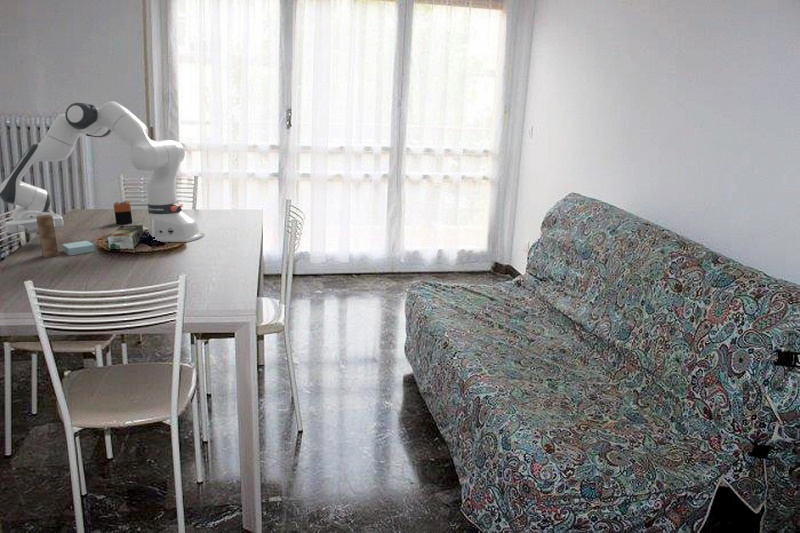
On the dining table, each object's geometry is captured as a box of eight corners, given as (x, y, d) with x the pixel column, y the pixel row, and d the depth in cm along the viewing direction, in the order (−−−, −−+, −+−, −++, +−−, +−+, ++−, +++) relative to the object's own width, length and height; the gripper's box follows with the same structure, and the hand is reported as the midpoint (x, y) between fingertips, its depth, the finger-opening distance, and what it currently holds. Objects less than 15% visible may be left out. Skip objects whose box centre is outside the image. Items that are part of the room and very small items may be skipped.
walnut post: (55, 253, 261) (49, 214, 256) (58, 255, 257) (52, 216, 253) (42, 255, 258) (36, 216, 254) (45, 257, 255) (39, 218, 250)
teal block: (87, 248, 270) (86, 240, 269) (94, 252, 263) (93, 244, 262) (63, 251, 264) (62, 244, 263) (69, 256, 258) (68, 248, 257)
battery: (132, 223, 310) (129, 201, 307) (116, 224, 307) (113, 202, 305) (131, 221, 314) (129, 199, 311) (115, 223, 311) (113, 201, 308)
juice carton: (134, 250, 264) (132, 235, 262) (107, 252, 263) (105, 236, 261) (145, 238, 283) (143, 224, 282) (120, 240, 282) (118, 225, 280)
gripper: (-1, 217, 267) (7, 223, 257) (56, 210, 280) (65, 215, 269) (2, 233, 269) (10, 239, 259) (58, 225, 282) (68, 231, 271)
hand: (38, 227), depth 264 cm, fingers open, 8 cm apart
